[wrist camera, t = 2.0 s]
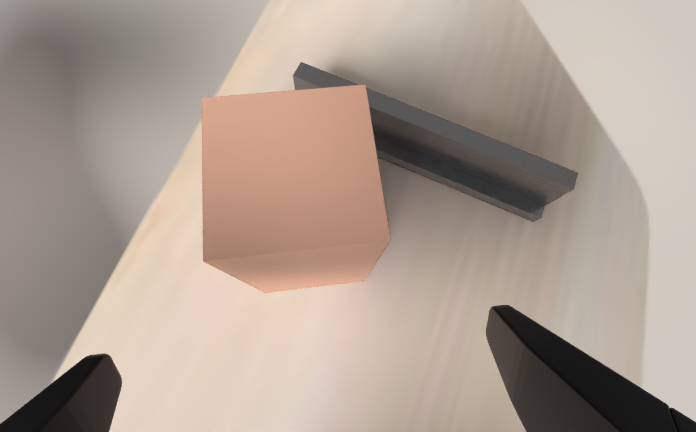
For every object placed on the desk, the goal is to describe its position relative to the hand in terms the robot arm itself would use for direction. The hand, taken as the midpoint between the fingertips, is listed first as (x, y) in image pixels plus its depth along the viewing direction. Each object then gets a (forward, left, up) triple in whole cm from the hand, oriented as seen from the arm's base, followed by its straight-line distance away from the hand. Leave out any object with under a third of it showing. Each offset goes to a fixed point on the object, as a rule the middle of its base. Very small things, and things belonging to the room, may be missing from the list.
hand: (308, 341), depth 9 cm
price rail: (+10, -7, -11) cm, 17 cm away
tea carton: (+5, 0, -11) cm, 13 cm away
